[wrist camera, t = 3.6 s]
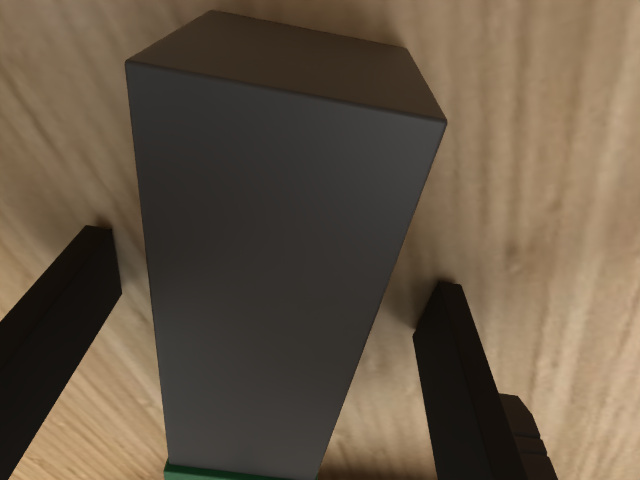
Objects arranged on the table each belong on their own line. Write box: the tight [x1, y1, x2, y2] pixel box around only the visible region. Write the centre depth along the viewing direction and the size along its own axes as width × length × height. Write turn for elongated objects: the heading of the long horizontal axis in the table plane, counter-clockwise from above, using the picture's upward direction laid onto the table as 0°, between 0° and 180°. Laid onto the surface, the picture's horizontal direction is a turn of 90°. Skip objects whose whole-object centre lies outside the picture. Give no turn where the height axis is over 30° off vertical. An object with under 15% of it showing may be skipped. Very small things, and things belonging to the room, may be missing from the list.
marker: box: [125, 10, 447, 480], centre depth 11 cm, size 15×5×5 cm, turn 170°
